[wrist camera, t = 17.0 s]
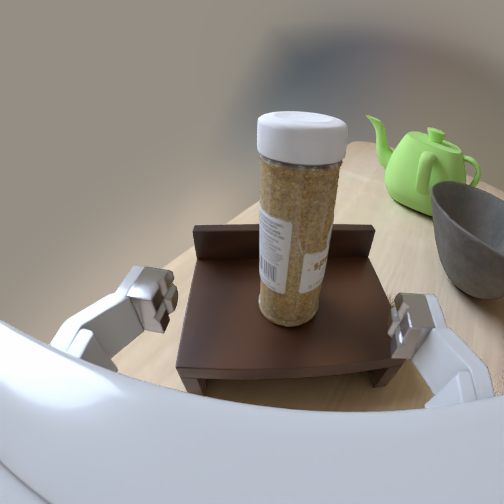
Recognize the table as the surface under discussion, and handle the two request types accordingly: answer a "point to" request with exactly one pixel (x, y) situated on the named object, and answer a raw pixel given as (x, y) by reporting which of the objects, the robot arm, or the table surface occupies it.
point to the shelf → (277, 336)
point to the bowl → (470, 237)
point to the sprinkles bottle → (296, 209)
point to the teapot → (420, 165)
